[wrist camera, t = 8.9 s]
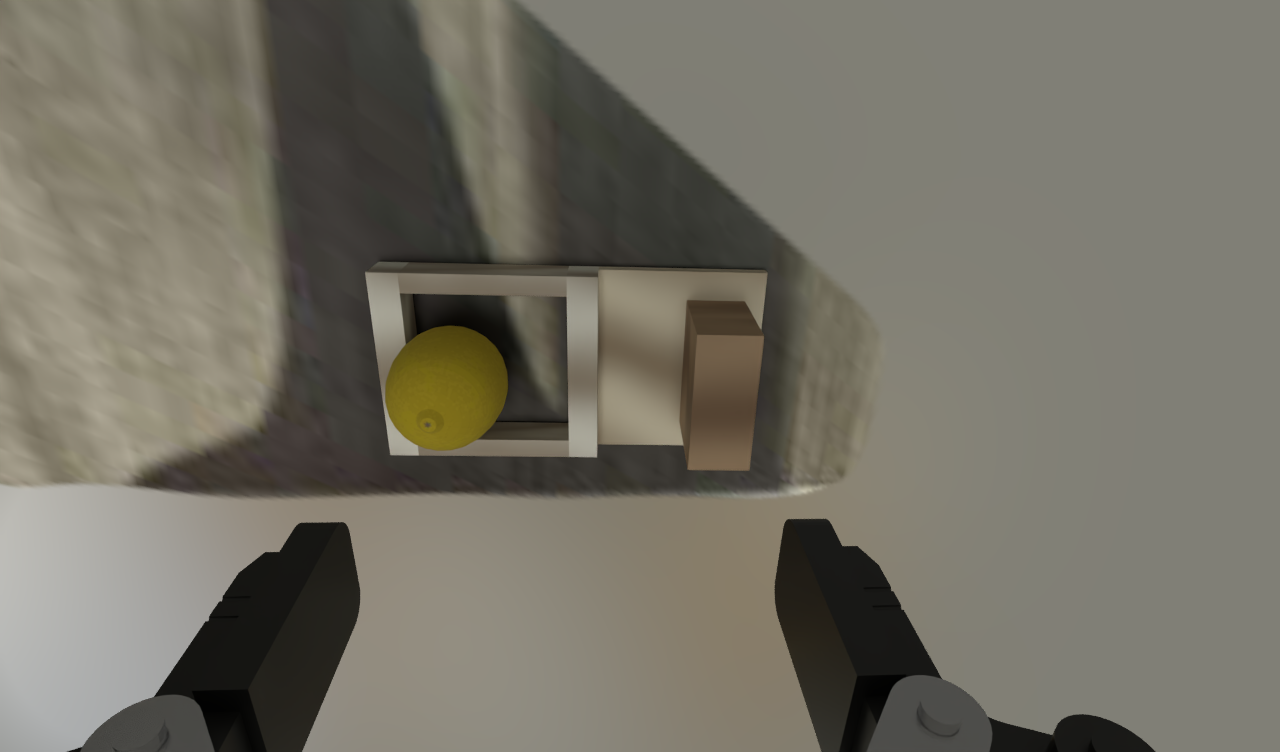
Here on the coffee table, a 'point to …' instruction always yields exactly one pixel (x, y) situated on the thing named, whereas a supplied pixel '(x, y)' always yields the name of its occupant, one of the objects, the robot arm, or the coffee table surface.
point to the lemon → (446, 388)
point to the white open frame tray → (610, 355)
